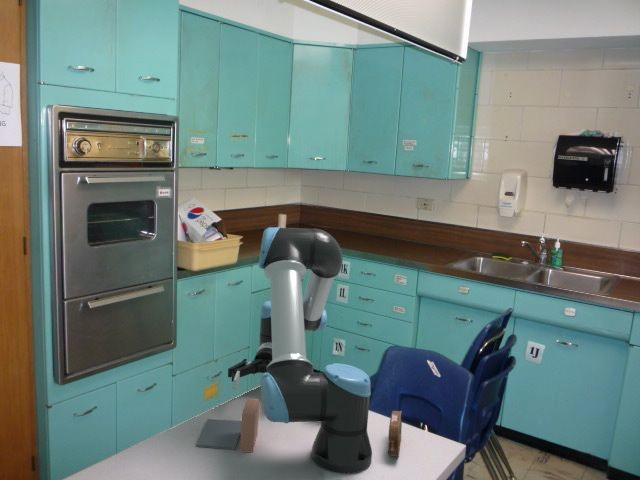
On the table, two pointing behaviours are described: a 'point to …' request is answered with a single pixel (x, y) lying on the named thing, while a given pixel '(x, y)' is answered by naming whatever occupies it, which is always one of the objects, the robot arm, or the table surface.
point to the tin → (395, 433)
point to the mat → (220, 434)
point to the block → (249, 425)
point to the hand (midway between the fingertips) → (258, 386)
